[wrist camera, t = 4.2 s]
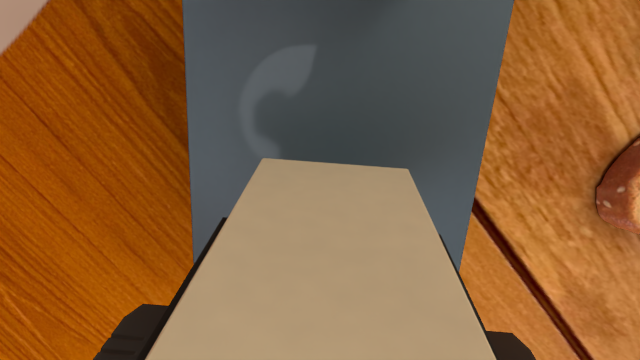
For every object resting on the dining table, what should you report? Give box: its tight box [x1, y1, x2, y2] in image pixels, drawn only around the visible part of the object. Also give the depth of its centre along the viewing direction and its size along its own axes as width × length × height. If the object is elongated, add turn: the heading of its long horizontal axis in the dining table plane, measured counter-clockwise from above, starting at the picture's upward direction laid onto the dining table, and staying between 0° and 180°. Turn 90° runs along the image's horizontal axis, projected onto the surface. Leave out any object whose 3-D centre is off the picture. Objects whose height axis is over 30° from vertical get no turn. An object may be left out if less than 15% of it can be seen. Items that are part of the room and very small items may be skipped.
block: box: [145, 158, 496, 360], centre depth 11 cm, size 5×5×10 cm
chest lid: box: [182, 0, 514, 272], centre depth 16 cm, size 19×13×6 cm
